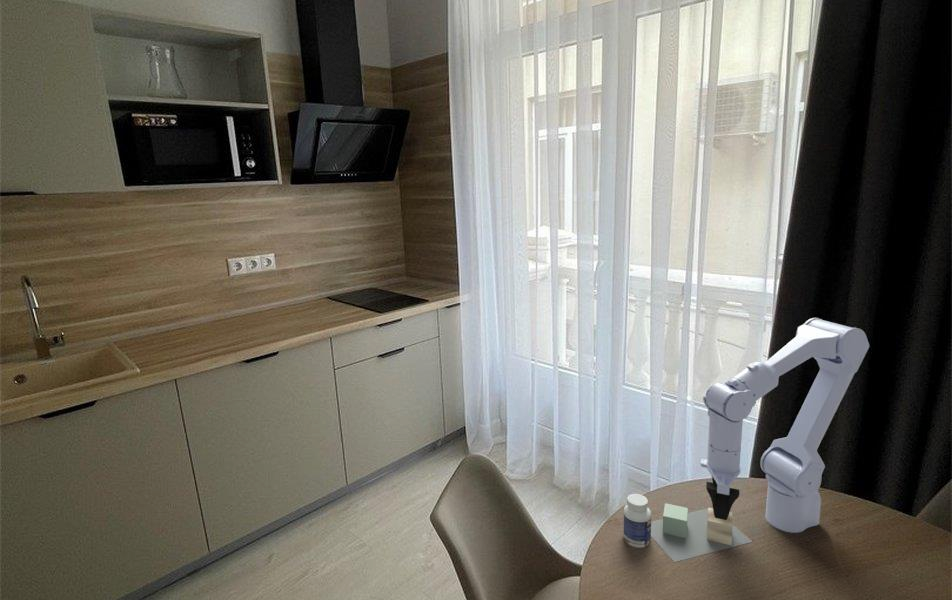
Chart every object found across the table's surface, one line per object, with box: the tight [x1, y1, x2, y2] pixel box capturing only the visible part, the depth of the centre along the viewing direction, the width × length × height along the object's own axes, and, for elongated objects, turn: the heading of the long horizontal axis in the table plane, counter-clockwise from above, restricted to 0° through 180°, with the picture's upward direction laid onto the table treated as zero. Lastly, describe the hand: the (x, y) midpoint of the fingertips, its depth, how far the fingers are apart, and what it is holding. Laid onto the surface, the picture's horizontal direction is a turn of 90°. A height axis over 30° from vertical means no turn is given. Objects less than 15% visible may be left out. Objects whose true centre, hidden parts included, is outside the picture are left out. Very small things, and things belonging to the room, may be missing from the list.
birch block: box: [707, 507, 734, 545], centre depth 99 cm, size 4×4×4 cm
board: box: [651, 506, 754, 563], centre depth 100 cm, size 18×12×1 cm, turn 104°
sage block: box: [662, 503, 689, 538], centre depth 101 cm, size 4×4×4 cm
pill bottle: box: [622, 493, 652, 548], centre depth 99 cm, size 5×5×10 cm
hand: (720, 506), depth 98 cm, fingers open, 7 cm apart
